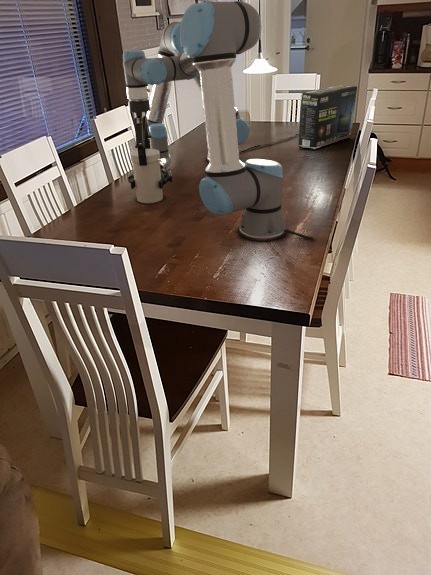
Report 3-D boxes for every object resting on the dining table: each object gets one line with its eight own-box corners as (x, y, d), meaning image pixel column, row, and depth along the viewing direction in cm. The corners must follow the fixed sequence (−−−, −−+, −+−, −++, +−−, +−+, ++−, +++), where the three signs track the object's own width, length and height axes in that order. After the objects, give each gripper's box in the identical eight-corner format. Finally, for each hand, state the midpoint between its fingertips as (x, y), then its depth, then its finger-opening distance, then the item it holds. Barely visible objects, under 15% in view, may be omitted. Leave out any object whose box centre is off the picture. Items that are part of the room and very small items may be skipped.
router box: (314, 151, 231) (318, 94, 217) (296, 148, 237) (299, 92, 224) (352, 138, 251) (358, 85, 238) (335, 135, 258) (340, 83, 245)
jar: (139, 204, 175) (133, 159, 166) (135, 196, 184) (129, 152, 175) (165, 201, 178) (161, 156, 169) (160, 192, 186) (156, 149, 177)
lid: (155, 153, 179) (155, 147, 178) (163, 160, 170) (162, 154, 169) (128, 157, 176) (127, 150, 174) (134, 164, 167) (133, 157, 166)
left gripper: (184, 176, 194) (176, 194, 175) (131, 177, 196) (118, 195, 177) (183, 158, 190) (175, 175, 171) (129, 159, 192) (115, 176, 173)
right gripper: (144, 105, 152) (151, 169, 163) (153, 93, 172) (159, 152, 183) (122, 105, 152) (130, 170, 163) (133, 94, 172) (140, 152, 184)
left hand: (146, 185), depth 174 cm, fingers closed on jar, 10 cm apart
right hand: (145, 160), depth 173 cm, fingers open, 12 cm apart
